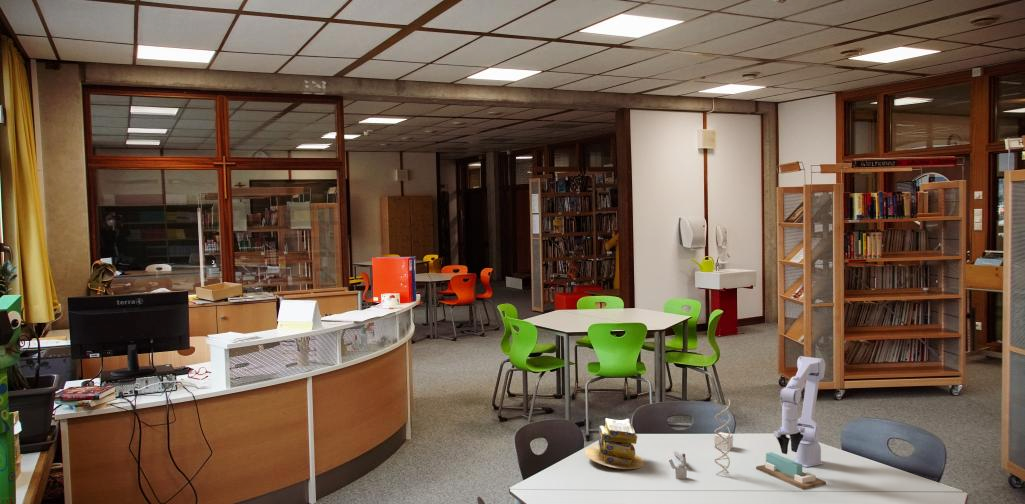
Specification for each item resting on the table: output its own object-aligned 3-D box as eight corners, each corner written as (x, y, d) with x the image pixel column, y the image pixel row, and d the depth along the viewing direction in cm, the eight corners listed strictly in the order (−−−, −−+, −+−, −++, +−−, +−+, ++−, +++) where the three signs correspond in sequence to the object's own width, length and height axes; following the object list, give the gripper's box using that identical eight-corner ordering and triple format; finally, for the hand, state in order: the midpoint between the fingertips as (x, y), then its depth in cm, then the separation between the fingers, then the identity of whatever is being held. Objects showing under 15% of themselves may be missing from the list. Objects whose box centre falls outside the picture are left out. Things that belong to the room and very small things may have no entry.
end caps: (778, 464, 288) (778, 460, 288) (815, 480, 271) (815, 475, 271) (765, 467, 285) (765, 462, 285) (802, 483, 268) (802, 478, 268)
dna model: (724, 469, 285) (725, 396, 284) (733, 475, 279) (734, 400, 278) (710, 471, 283) (710, 398, 282) (719, 477, 277) (720, 402, 276)
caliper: (686, 470, 286) (686, 455, 286) (683, 470, 286) (683, 455, 286) (675, 453, 306) (675, 439, 306) (673, 453, 306) (673, 439, 306)
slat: (771, 464, 289) (771, 452, 288) (802, 477, 274) (802, 464, 274) (765, 465, 287) (766, 453, 287) (796, 478, 273) (796, 465, 273)
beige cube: (714, 448, 312) (714, 435, 312) (719, 445, 317) (719, 432, 316) (727, 451, 308) (727, 437, 308) (732, 447, 313) (732, 434, 312)
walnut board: (778, 464, 291) (778, 461, 291) (825, 484, 269) (826, 481, 269) (756, 468, 286) (756, 466, 286) (802, 489, 264) (802, 486, 264)
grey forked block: (685, 477, 278) (685, 457, 277) (686, 478, 276) (686, 458, 276) (667, 477, 278) (667, 457, 278) (668, 478, 276) (668, 458, 276)
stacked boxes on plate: (646, 454, 305) (646, 416, 304) (641, 474, 281) (641, 433, 281) (590, 449, 312) (590, 412, 311) (580, 468, 288) (580, 428, 287)
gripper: (795, 413, 284) (794, 446, 284) (768, 418, 278) (767, 452, 278) (809, 418, 277) (808, 452, 278) (781, 422, 271) (781, 457, 272)
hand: (789, 452), depth 278 cm, fingers open, 5 cm apart
